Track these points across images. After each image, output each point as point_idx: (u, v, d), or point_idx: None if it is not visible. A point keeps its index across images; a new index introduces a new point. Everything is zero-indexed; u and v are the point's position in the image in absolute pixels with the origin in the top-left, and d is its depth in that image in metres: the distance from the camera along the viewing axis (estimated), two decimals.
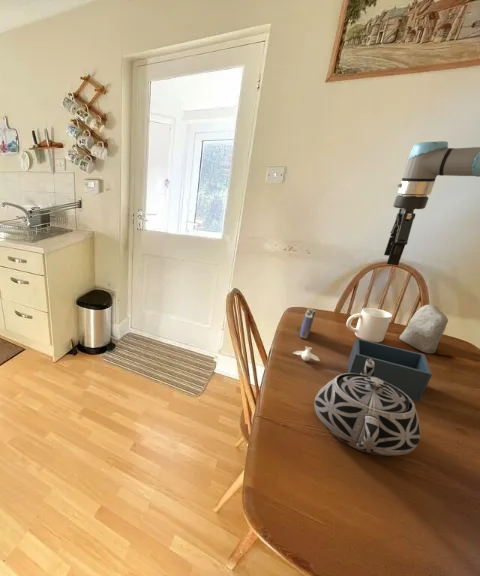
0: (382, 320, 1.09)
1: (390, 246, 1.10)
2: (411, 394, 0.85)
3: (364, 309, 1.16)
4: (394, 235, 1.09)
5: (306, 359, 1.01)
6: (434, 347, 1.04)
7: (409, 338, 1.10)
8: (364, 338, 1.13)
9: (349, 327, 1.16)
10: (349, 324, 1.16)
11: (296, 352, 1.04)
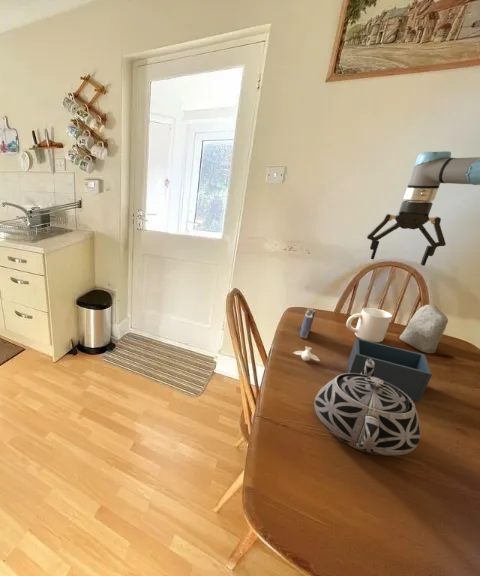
0: (382, 320, 1.09)
1: None
2: (411, 394, 0.85)
3: (364, 309, 1.16)
4: (377, 239, 1.14)
5: (306, 359, 1.01)
6: (434, 347, 1.04)
7: (409, 338, 1.10)
8: (364, 338, 1.13)
9: (349, 327, 1.16)
10: (349, 324, 1.16)
11: (296, 352, 1.04)
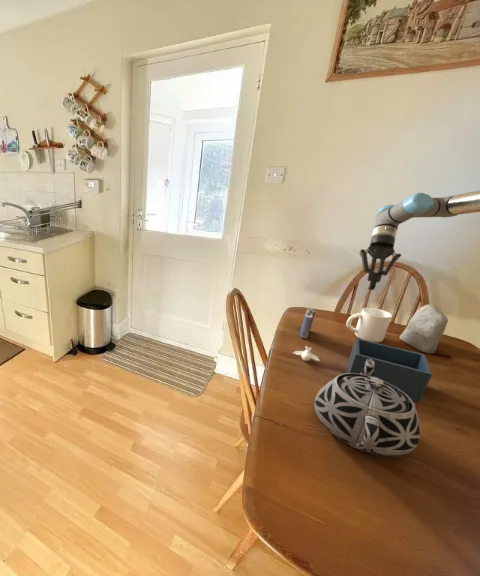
0: (382, 320, 1.09)
1: None
2: (411, 394, 0.85)
3: (364, 309, 1.16)
4: None
5: (306, 359, 1.01)
6: (434, 347, 1.04)
7: (409, 338, 1.10)
8: (364, 338, 1.13)
9: (349, 327, 1.16)
10: (349, 324, 1.16)
11: (296, 352, 1.04)
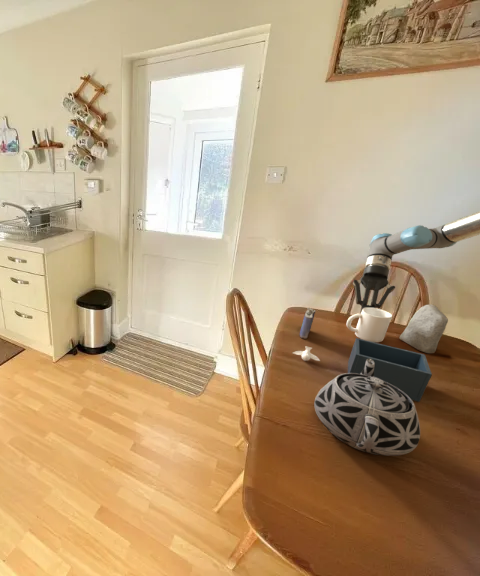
0: (382, 320, 1.09)
1: None
2: (411, 394, 0.85)
3: (364, 309, 1.15)
4: None
5: (306, 359, 1.01)
6: (434, 347, 1.04)
7: (409, 338, 1.10)
8: (364, 338, 1.13)
9: (349, 327, 1.16)
10: (349, 324, 1.16)
11: (296, 352, 1.04)
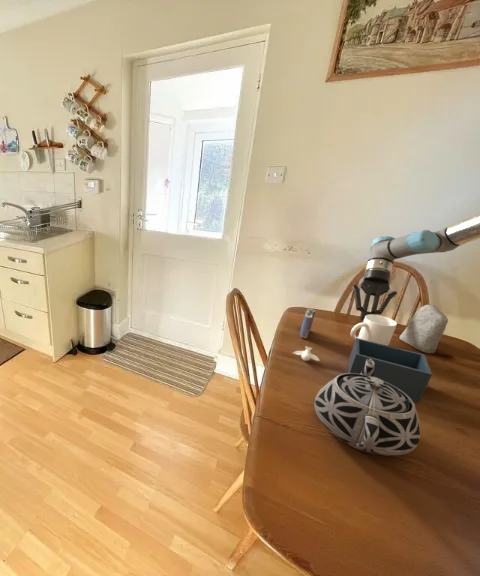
0: (389, 329, 1.03)
1: None
2: (411, 394, 0.85)
3: (366, 317, 1.10)
4: None
5: (306, 359, 1.01)
6: (434, 347, 1.04)
7: (409, 338, 1.10)
8: None
9: (354, 337, 1.09)
10: (354, 334, 1.09)
11: (296, 352, 1.04)
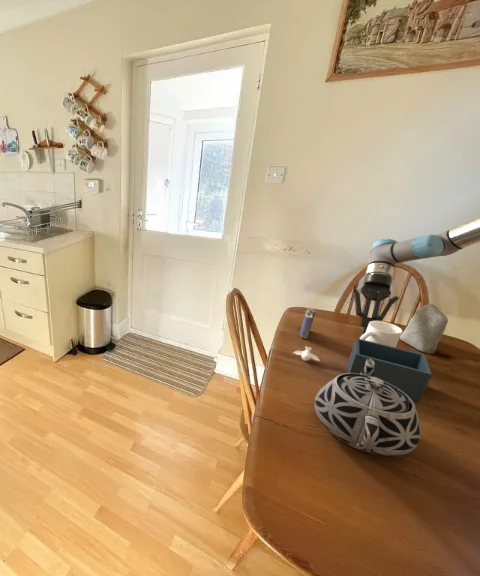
0: (397, 336, 0.99)
1: (367, 326, 1.10)
2: (411, 394, 0.85)
3: (369, 324, 1.04)
4: None
5: (306, 359, 1.01)
6: (434, 347, 1.04)
7: (409, 338, 1.10)
8: None
9: None
10: None
11: (296, 352, 1.04)
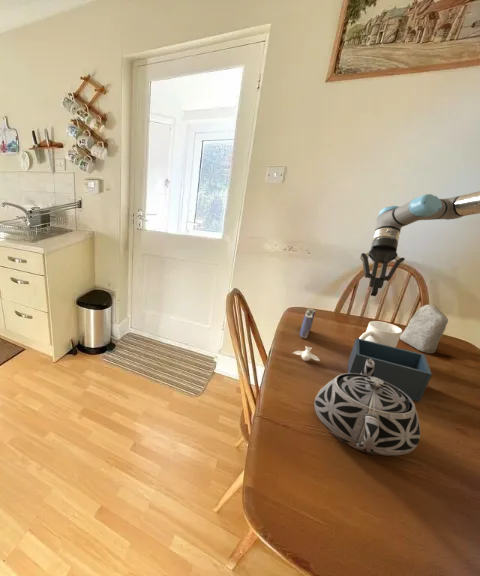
0: (397, 336, 0.99)
1: None
2: (411, 394, 0.85)
3: (369, 324, 1.05)
4: None
5: (306, 359, 1.01)
6: (434, 347, 1.04)
7: (409, 338, 1.10)
8: None
9: None
10: None
11: (296, 352, 1.04)
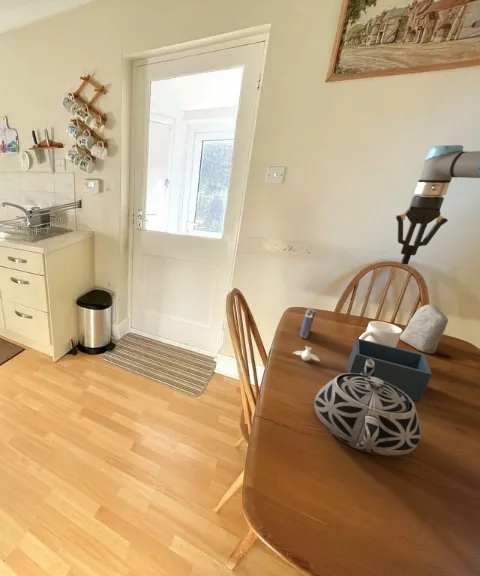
0: (397, 336, 0.99)
1: None
2: (411, 394, 0.85)
3: (369, 324, 1.05)
4: (408, 242, 1.10)
5: (306, 359, 1.01)
6: (434, 347, 1.04)
7: (409, 338, 1.10)
8: None
9: None
10: None
11: (296, 352, 1.04)
